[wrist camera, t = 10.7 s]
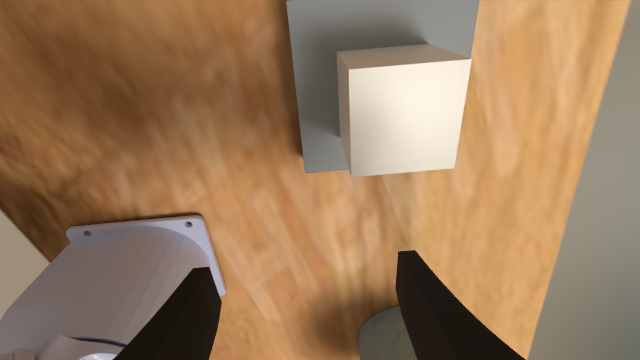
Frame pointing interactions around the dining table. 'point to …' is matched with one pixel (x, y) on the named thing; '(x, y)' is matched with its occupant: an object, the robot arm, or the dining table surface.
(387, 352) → the teal cup
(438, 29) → the stud block
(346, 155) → the cream colored cube
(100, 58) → the dining table surface
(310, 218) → the dining table surface
